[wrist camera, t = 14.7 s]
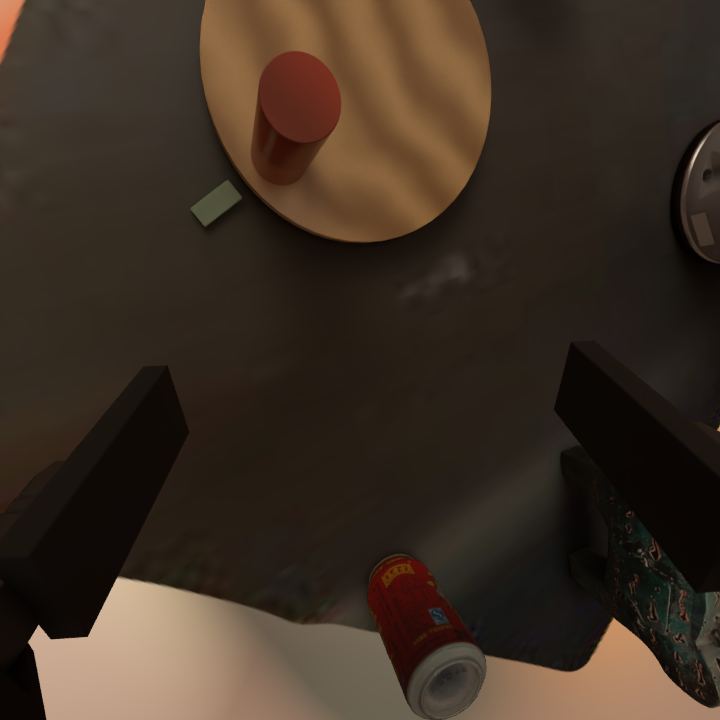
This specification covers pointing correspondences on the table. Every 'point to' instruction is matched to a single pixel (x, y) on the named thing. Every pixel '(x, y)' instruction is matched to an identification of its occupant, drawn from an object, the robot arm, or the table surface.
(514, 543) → the table surface
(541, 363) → the table surface
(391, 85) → the wooden round stand
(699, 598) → the ceramic cat
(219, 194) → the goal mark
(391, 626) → the soda can
